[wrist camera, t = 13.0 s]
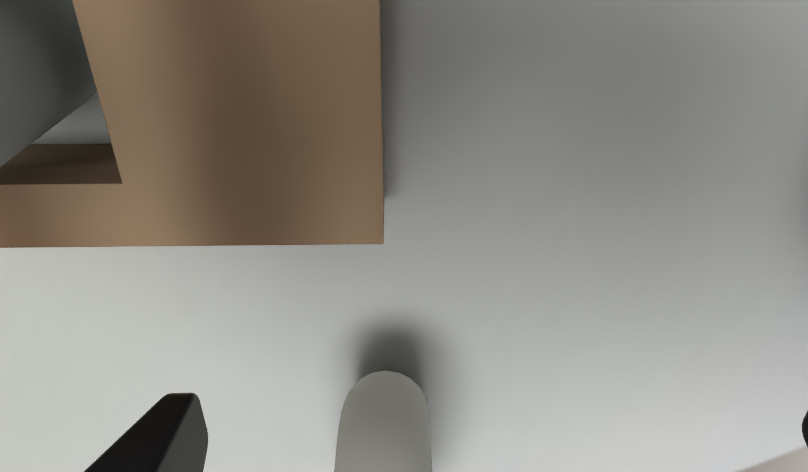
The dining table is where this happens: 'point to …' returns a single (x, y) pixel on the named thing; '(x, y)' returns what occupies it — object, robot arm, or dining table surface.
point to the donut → (384, 426)
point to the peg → (39, 70)
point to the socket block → (215, 130)
